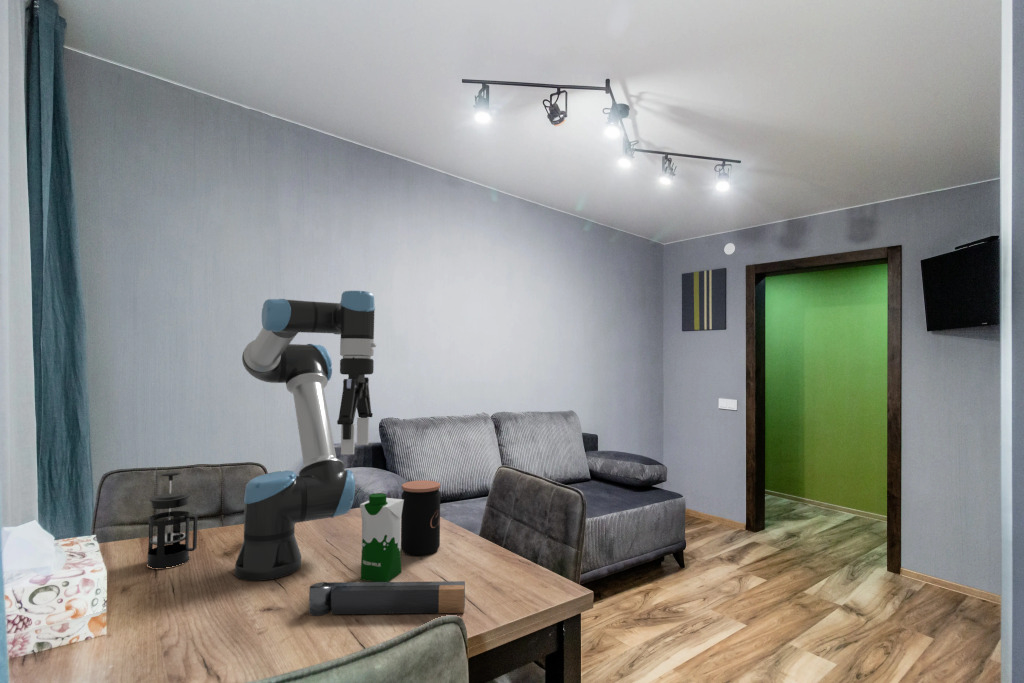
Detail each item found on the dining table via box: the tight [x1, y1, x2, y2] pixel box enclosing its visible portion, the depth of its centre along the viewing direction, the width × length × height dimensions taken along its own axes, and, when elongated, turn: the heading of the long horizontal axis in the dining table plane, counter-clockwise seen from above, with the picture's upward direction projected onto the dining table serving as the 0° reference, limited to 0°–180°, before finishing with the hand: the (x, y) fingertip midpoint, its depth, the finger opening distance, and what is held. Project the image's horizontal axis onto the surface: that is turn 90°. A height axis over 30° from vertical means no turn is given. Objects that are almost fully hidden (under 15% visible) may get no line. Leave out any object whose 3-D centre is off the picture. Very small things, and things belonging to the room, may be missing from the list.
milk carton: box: [359, 492, 404, 582], centre depth 131 cm, size 9×9×20 cm
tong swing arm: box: [331, 584, 466, 615], centre depth 112 cm, size 27×2×5 cm, turn 92°
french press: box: [146, 471, 198, 568], centre depth 139 cm, size 12×9×23 cm
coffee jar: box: [401, 479, 441, 557], centre depth 149 cm, size 11×11×18 cm
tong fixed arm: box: [308, 580, 466, 617], centre depth 113 cm, size 32×4×5 cm, turn 92°
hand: (355, 449), depth 125 cm, fingers open, 13 cm apart
